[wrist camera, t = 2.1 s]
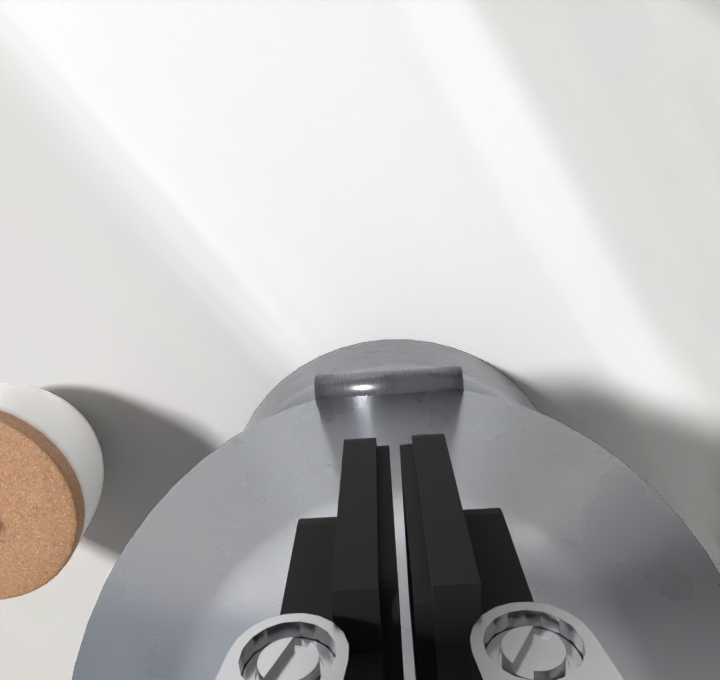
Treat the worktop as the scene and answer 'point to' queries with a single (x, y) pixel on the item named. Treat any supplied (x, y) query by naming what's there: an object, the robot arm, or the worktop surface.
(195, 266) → the worktop surface
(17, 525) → the lidded jar
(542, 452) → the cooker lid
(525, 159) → the worktop surface
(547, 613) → the robot arm
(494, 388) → the cooker pot
